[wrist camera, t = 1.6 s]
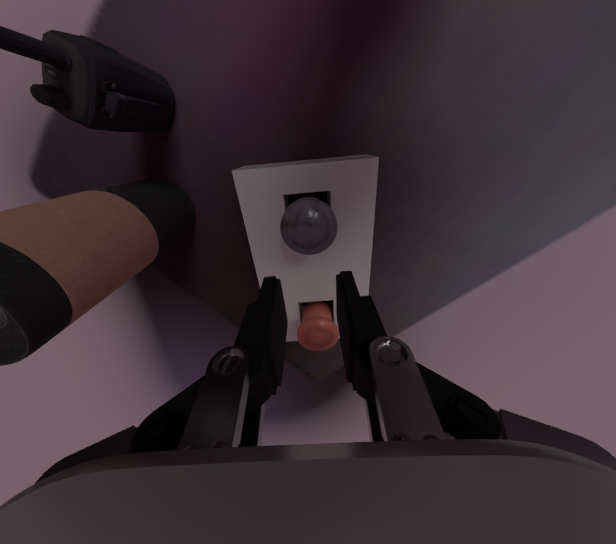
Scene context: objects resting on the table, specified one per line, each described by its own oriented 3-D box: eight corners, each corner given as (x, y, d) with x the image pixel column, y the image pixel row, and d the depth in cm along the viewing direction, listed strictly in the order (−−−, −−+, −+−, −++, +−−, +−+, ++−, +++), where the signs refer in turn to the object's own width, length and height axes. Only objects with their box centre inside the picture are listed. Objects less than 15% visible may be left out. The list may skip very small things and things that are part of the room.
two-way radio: (145, 61, 20) (-128, -74, 8) (192, 91, 22) (25, 18, 9) (136, 122, 23) (-80, 99, 10) (179, 146, 24) (34, 153, 11)
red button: (296, 299, 29) (294, 322, 26) (334, 296, 29) (338, 320, 25) (300, 326, 32) (299, 352, 28) (335, 324, 32) (339, 349, 28)
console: (244, 165, 25) (231, 170, 21) (366, 154, 24) (379, 157, 20) (277, 319, 37) (273, 342, 33) (358, 314, 37) (365, 336, 33)
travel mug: (145, 234, 29) (-81, 364, 12) (125, 173, 25) (-249, 238, 8) (202, 238, 30) (60, 371, 13) (191, 178, 26) (-36, 253, 9)
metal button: (281, 191, 22) (275, 202, 18) (331, 187, 22) (337, 197, 18) (287, 239, 25) (284, 256, 21) (333, 235, 25) (337, 252, 21)
